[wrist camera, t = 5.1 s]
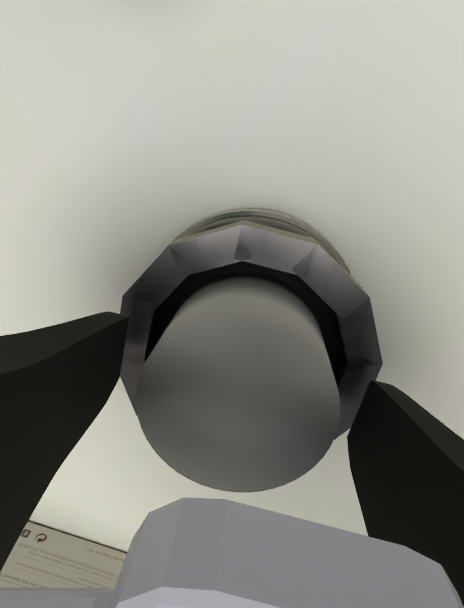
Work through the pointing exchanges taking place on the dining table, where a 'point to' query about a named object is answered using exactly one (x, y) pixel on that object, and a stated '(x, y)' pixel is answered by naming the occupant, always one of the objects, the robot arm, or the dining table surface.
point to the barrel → (266, 259)
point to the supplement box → (59, 561)
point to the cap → (240, 386)
